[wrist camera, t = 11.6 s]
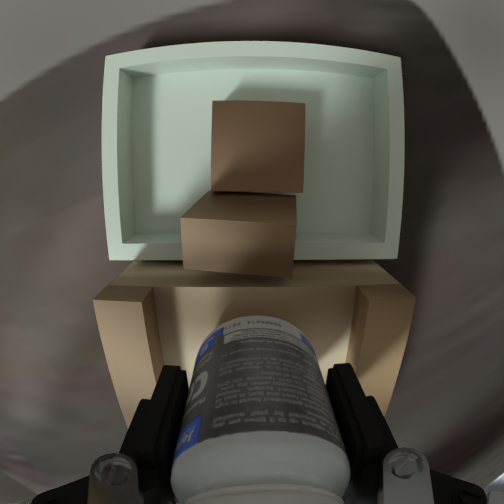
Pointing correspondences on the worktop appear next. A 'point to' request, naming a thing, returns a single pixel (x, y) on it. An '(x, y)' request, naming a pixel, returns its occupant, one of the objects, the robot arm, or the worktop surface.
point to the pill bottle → (258, 421)
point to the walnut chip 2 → (240, 233)
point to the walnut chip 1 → (257, 146)
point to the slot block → (249, 304)
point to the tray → (254, 89)
